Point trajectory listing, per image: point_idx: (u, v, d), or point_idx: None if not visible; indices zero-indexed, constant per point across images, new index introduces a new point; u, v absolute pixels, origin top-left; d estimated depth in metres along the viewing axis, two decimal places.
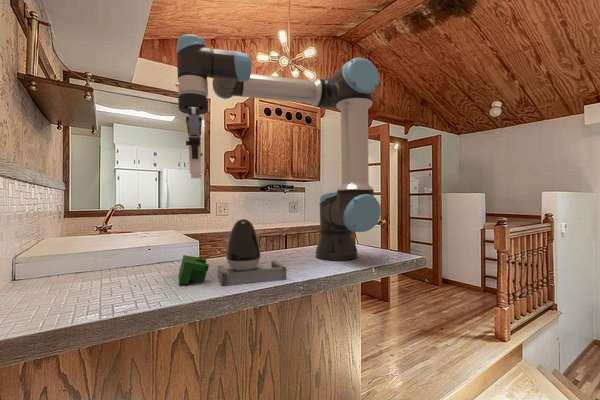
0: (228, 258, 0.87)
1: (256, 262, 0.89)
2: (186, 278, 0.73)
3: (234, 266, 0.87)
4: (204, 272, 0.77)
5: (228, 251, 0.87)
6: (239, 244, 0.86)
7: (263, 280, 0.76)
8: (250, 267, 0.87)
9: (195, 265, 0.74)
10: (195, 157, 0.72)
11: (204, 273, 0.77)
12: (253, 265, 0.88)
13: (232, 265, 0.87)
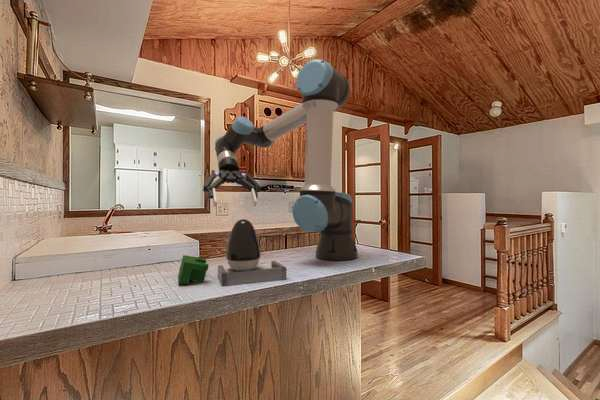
0: (228, 258, 0.87)
1: (256, 262, 0.89)
2: (186, 278, 0.73)
3: (234, 266, 0.87)
4: (204, 272, 0.77)
5: (228, 251, 0.87)
6: (239, 244, 0.86)
7: (263, 280, 0.76)
8: (250, 267, 0.87)
9: (195, 265, 0.74)
10: (210, 196, 1.01)
11: (204, 273, 0.77)
12: (253, 265, 0.88)
13: (232, 265, 0.87)
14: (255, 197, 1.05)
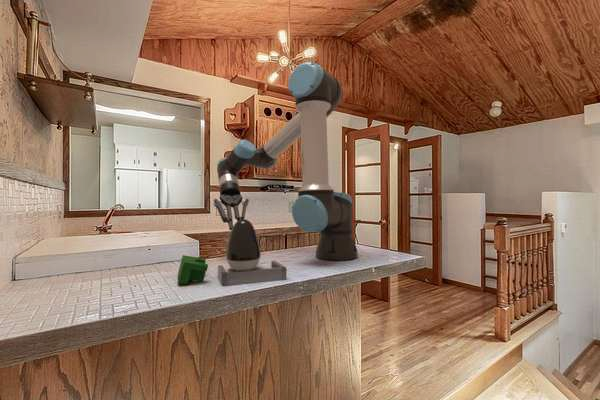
0: (228, 258, 0.87)
1: (256, 262, 0.89)
2: (185, 278, 0.73)
3: (234, 266, 0.87)
4: (203, 272, 0.77)
5: (228, 251, 0.87)
6: (239, 244, 0.86)
7: (263, 280, 0.76)
8: (250, 267, 0.87)
9: (194, 265, 0.74)
10: (230, 228, 1.02)
11: (203, 273, 0.77)
12: (253, 265, 0.88)
13: (232, 265, 0.87)
14: None
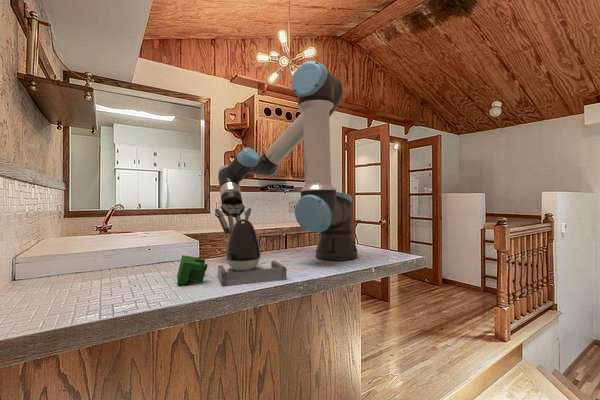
0: (228, 258, 0.87)
1: (256, 262, 0.89)
2: (185, 278, 0.73)
3: (234, 266, 0.87)
4: (203, 272, 0.77)
5: (228, 251, 0.87)
6: (239, 244, 0.86)
7: (263, 280, 0.76)
8: (250, 267, 0.87)
9: (194, 265, 0.74)
10: None
11: (203, 273, 0.77)
12: (253, 265, 0.88)
13: (232, 265, 0.87)
14: None
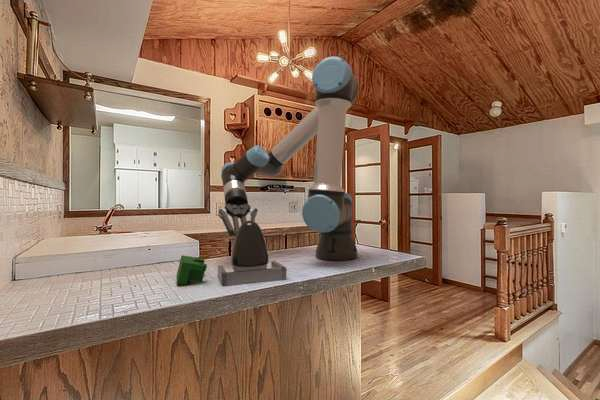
0: (233, 263, 0.79)
1: (264, 268, 0.81)
2: (184, 278, 0.73)
3: None
4: (202, 272, 0.77)
5: (233, 256, 0.80)
6: (245, 248, 0.78)
7: (263, 280, 0.76)
8: None
9: (193, 265, 0.74)
10: None
11: (202, 273, 0.77)
12: None
13: None
14: None
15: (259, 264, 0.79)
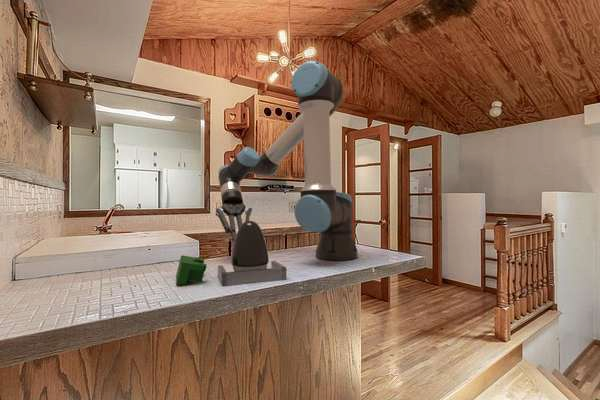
0: (233, 263, 0.79)
1: (264, 268, 0.81)
2: (184, 279, 0.73)
3: None
4: (202, 272, 0.77)
5: (233, 256, 0.80)
6: (245, 248, 0.78)
7: (263, 280, 0.76)
8: None
9: (193, 265, 0.74)
10: (233, 239, 0.98)
11: (202, 273, 0.77)
12: None
13: None
14: None
15: (259, 264, 0.79)
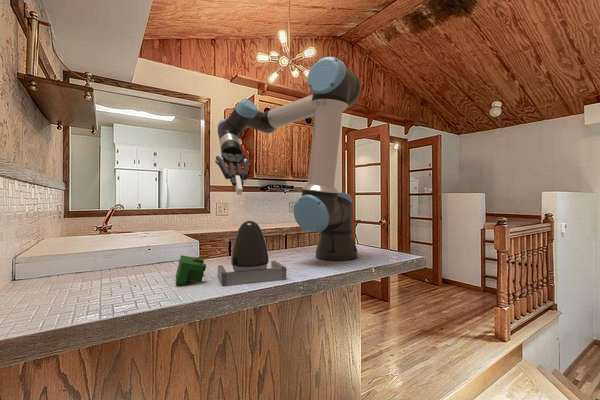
0: (233, 263, 0.79)
1: (264, 268, 0.81)
2: (183, 279, 0.73)
3: None
4: (201, 272, 0.77)
5: (233, 256, 0.80)
6: (245, 248, 0.78)
7: (263, 280, 0.76)
8: None
9: (192, 265, 0.74)
10: (232, 183, 1.00)
11: (201, 273, 0.77)
12: None
13: None
14: (241, 185, 0.99)
15: (259, 264, 0.79)
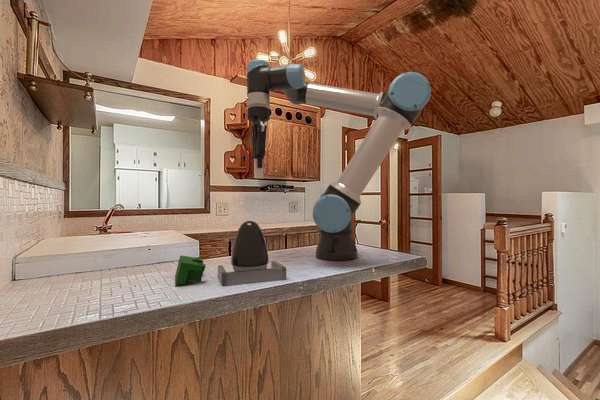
0: (233, 263, 0.79)
1: (264, 268, 0.81)
2: (183, 279, 0.73)
3: None
4: (201, 272, 0.77)
5: (233, 256, 0.80)
6: (245, 248, 0.78)
7: (263, 280, 0.76)
8: None
9: (192, 265, 0.74)
10: (260, 167, 1.00)
11: (201, 273, 0.77)
12: None
13: None
14: (262, 173, 1.02)
15: (259, 264, 0.79)
